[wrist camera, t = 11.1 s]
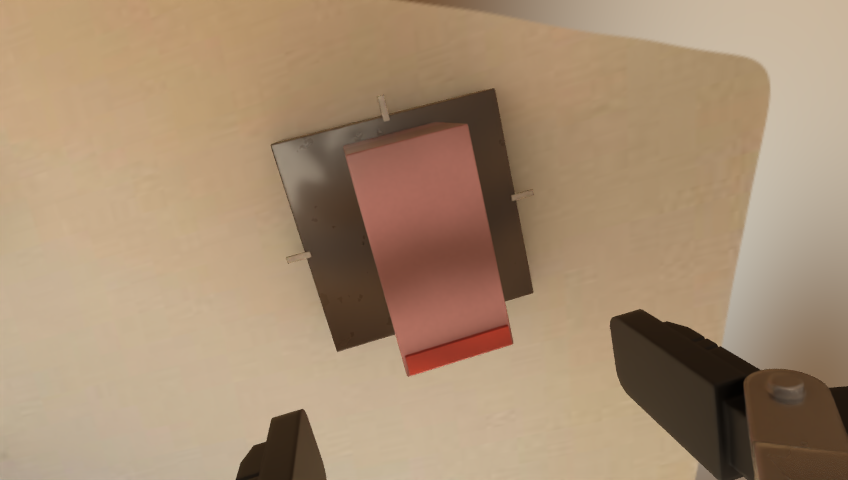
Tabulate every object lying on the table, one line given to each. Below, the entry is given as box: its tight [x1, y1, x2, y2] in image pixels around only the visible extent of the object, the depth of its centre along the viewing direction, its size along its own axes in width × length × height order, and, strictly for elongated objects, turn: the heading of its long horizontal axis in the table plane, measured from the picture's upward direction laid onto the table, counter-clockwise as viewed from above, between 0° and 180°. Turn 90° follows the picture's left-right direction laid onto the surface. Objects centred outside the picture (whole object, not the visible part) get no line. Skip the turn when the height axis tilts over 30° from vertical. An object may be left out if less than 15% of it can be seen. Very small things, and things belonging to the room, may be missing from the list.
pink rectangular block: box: [343, 122, 513, 377], centre depth 26 cm, size 11×6×7 cm, turn 14°
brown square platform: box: [271, 88, 534, 352], centre depth 30 cm, size 15×15×2 cm
